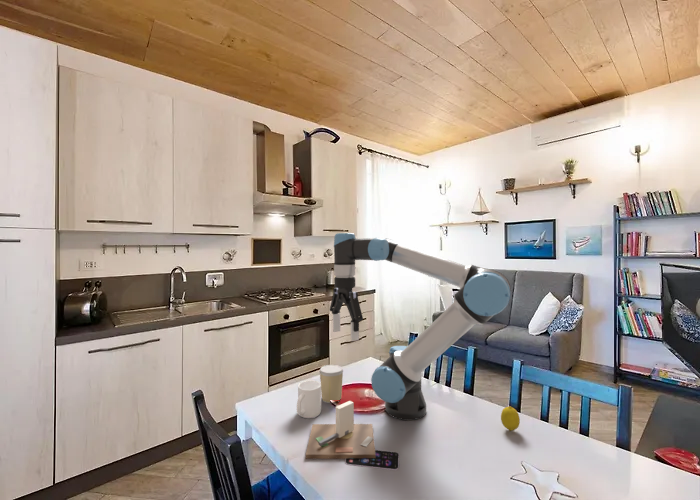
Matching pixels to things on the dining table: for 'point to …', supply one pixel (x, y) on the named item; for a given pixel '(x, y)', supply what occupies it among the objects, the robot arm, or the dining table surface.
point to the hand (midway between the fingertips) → (345, 335)
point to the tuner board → (341, 443)
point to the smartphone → (377, 460)
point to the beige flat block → (342, 421)
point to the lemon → (510, 418)
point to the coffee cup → (331, 382)
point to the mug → (309, 399)
